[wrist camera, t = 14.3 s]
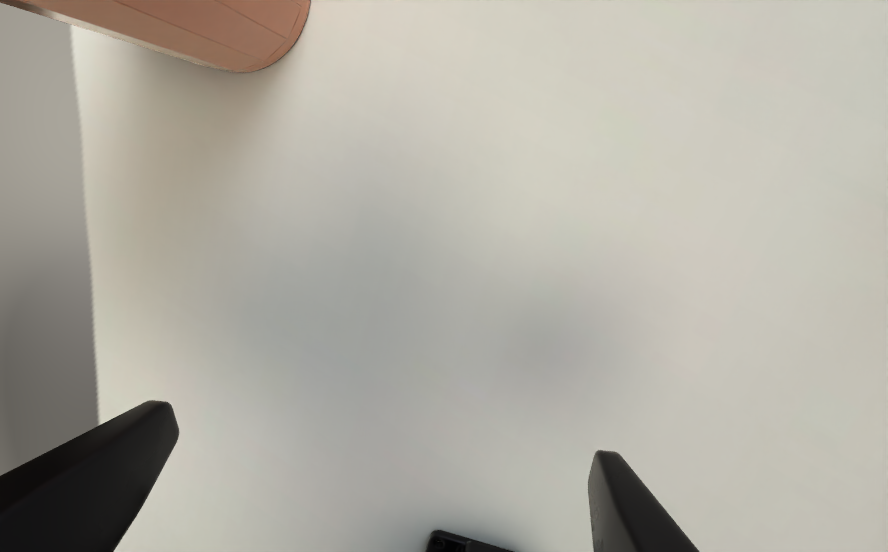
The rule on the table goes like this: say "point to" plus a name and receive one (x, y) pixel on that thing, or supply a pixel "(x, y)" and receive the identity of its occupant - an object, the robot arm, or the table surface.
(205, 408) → the table surface
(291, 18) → the pencil cup
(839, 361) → the table surface
